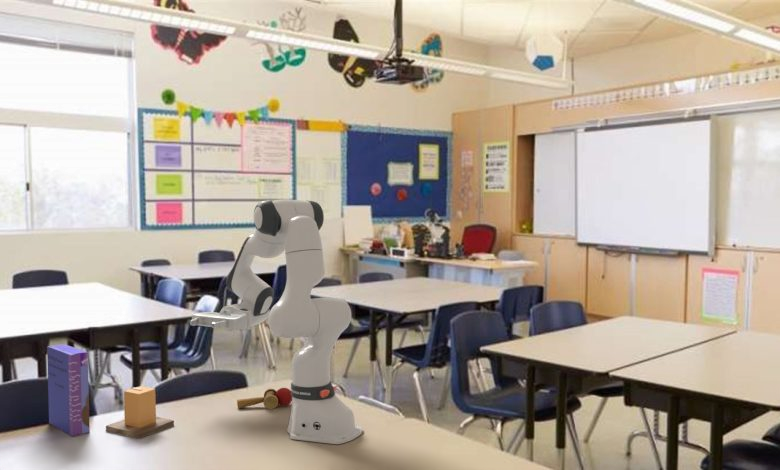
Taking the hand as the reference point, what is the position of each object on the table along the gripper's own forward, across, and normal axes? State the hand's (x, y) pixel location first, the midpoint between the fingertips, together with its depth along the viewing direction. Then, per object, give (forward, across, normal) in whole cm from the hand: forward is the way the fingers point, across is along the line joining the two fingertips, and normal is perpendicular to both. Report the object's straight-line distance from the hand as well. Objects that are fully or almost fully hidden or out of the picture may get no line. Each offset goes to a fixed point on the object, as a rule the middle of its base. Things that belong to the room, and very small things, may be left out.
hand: (202, 324), depth 212 cm
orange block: (+22, -4, +26) cm, 35 cm away
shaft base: (+22, -4, +28) cm, 36 cm away
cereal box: (+32, -23, +28) cm, 48 cm away
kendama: (-12, +16, +28) cm, 35 cm away
